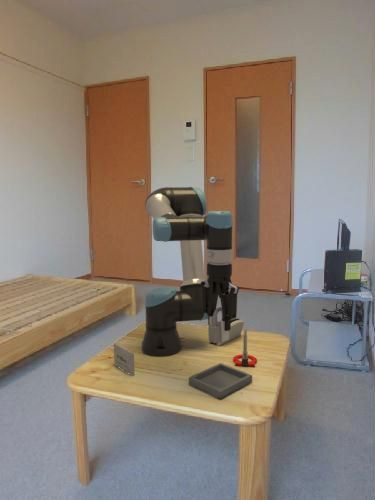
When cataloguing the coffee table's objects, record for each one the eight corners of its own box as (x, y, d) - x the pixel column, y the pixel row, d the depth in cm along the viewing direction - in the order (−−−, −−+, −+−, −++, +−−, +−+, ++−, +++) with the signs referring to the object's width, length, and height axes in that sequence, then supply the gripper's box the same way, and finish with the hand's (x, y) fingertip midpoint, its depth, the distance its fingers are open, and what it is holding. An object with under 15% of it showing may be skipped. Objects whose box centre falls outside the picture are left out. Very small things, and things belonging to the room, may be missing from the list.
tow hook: (233, 356, 145) (232, 366, 136) (234, 322, 144) (233, 329, 135) (256, 358, 144) (257, 367, 135) (257, 323, 143) (258, 330, 134)
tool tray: (188, 384, 123) (188, 377, 122) (220, 370, 133) (220, 363, 133) (220, 399, 114) (220, 391, 113) (252, 382, 124) (252, 375, 124)
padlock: (221, 334, 125) (221, 304, 124) (231, 337, 123) (231, 306, 121) (206, 340, 120) (206, 308, 119) (217, 344, 117) (217, 311, 116)
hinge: (230, 332, 171) (237, 312, 167) (239, 337, 168) (246, 317, 165) (208, 343, 158) (215, 322, 154) (217, 349, 155) (224, 328, 152)
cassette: (113, 364, 138) (112, 343, 137) (117, 363, 139) (117, 342, 138) (131, 376, 129) (130, 354, 128) (136, 375, 130) (135, 352, 129)
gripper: (190, 261, 122) (190, 334, 125) (233, 267, 110) (232, 349, 113) (207, 258, 127) (207, 329, 130) (250, 264, 115) (249, 342, 118)
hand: (219, 338), depth 121 cm, fingers closed on padlock, 4 cm apart
